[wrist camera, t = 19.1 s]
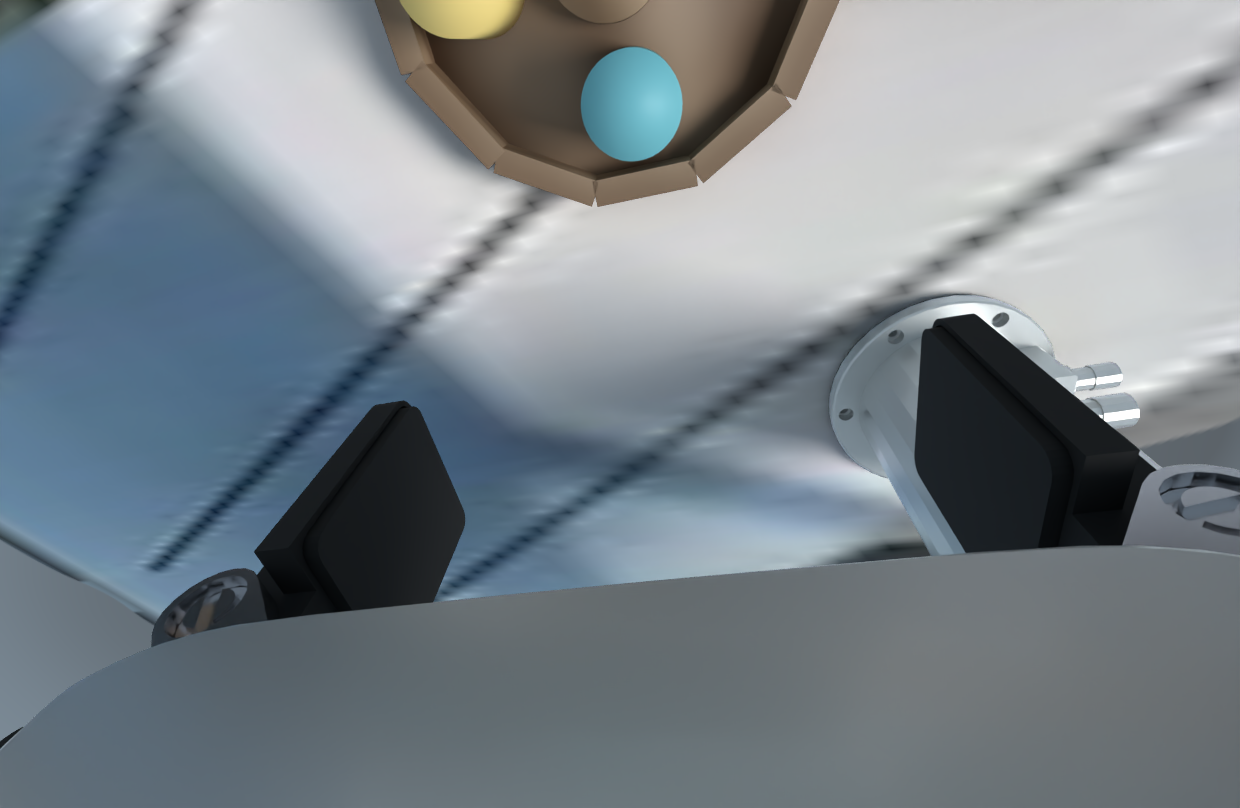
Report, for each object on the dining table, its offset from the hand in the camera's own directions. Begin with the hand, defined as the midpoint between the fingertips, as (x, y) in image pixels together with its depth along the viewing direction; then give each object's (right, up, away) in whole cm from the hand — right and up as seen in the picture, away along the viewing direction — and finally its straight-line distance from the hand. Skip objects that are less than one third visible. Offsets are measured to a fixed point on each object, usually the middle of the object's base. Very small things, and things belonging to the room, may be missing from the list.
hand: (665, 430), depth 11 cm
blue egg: (0, +15, +16) cm, 22 cm away
